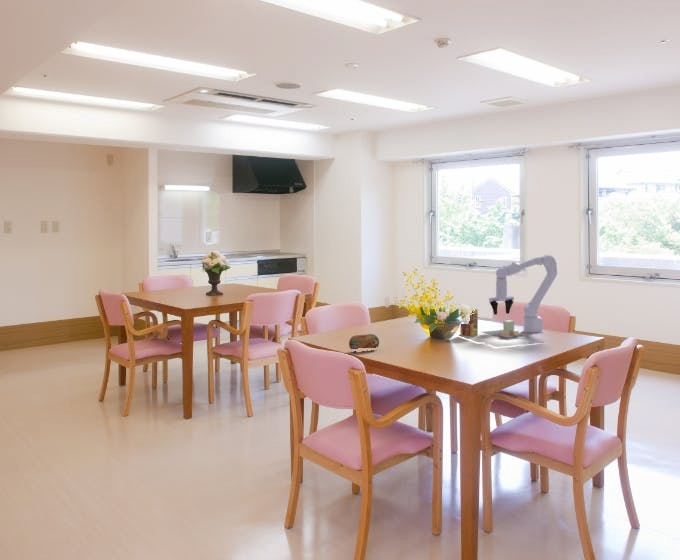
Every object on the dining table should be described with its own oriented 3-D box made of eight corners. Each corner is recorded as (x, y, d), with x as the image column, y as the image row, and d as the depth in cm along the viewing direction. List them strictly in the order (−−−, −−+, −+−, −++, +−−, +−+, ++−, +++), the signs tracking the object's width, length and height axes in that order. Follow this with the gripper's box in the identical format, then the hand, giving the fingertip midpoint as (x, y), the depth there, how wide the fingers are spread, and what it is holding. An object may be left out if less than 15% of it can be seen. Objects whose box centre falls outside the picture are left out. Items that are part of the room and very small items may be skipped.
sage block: (510, 329, 317) (510, 320, 317) (514, 330, 313) (514, 321, 313) (503, 330, 316) (503, 320, 316) (507, 331, 312) (507, 321, 312)
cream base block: (511, 334, 319) (511, 328, 319) (518, 336, 312) (518, 330, 312) (499, 335, 317) (499, 329, 317) (507, 337, 310) (506, 332, 310)
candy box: (478, 337, 319) (478, 309, 318) (473, 338, 317) (473, 309, 315) (465, 335, 326) (464, 307, 325) (460, 336, 323) (459, 308, 322)
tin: (350, 353, 289) (349, 336, 288) (348, 352, 292) (347, 335, 291) (379, 350, 293) (379, 333, 292) (377, 349, 296) (377, 332, 295)
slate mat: (503, 331, 333) (503, 329, 332) (530, 339, 309) (530, 337, 309) (481, 333, 329) (481, 331, 328) (506, 341, 305) (506, 339, 305)
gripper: (508, 288, 334) (508, 312, 336) (486, 289, 330) (486, 313, 331) (516, 289, 328) (516, 313, 329) (492, 290, 323) (492, 315, 325)
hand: (501, 313), depth 330 cm, fingers open, 7 cm apart
